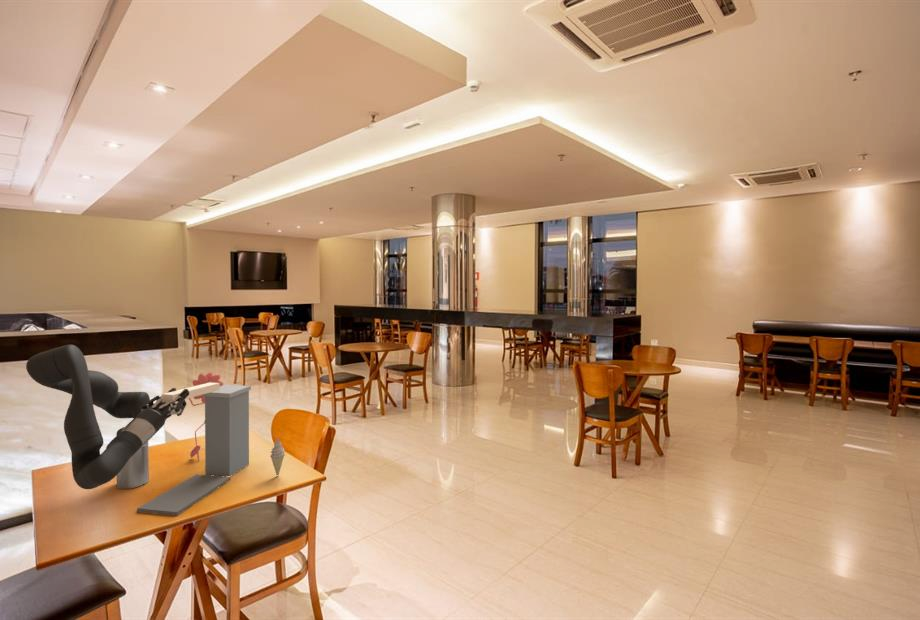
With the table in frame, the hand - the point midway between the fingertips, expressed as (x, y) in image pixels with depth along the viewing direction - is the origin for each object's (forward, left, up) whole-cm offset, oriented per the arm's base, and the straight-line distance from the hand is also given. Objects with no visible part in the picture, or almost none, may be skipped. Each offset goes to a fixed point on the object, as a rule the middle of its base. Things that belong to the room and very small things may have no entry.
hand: (181, 390), depth 149 cm
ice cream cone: (+31, +2, -37) cm, 48 cm away
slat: (+3, +4, -3) cm, 6 cm away
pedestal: (+16, +18, -37) cm, 44 cm away
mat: (+2, +3, -37) cm, 37 cm away
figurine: (+11, +40, -37) cm, 56 cm away
